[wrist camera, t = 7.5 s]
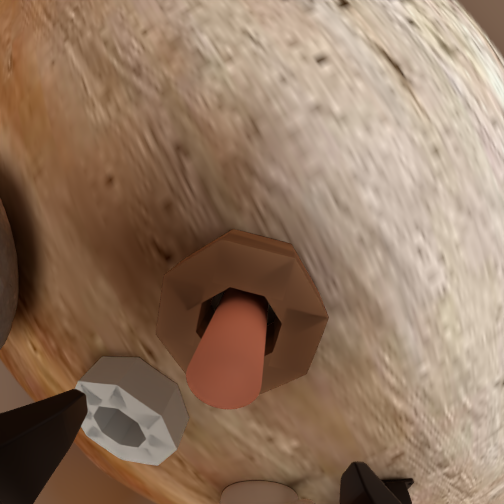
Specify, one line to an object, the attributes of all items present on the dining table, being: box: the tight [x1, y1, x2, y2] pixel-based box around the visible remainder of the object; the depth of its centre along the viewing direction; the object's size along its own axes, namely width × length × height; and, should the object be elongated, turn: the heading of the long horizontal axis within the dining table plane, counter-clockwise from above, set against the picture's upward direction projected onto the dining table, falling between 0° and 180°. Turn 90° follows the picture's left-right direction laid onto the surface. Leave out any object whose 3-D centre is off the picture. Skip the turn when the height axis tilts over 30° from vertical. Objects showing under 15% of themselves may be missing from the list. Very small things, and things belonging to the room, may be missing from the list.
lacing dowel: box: [186, 287, 269, 409], centre depth 15 cm, size 3×3×9 cm
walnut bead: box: [156, 229, 329, 394], centre depth 18 cm, size 9×9×4 cm
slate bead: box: [75, 356, 189, 466], centre depth 21 cm, size 9×9×4 cm
